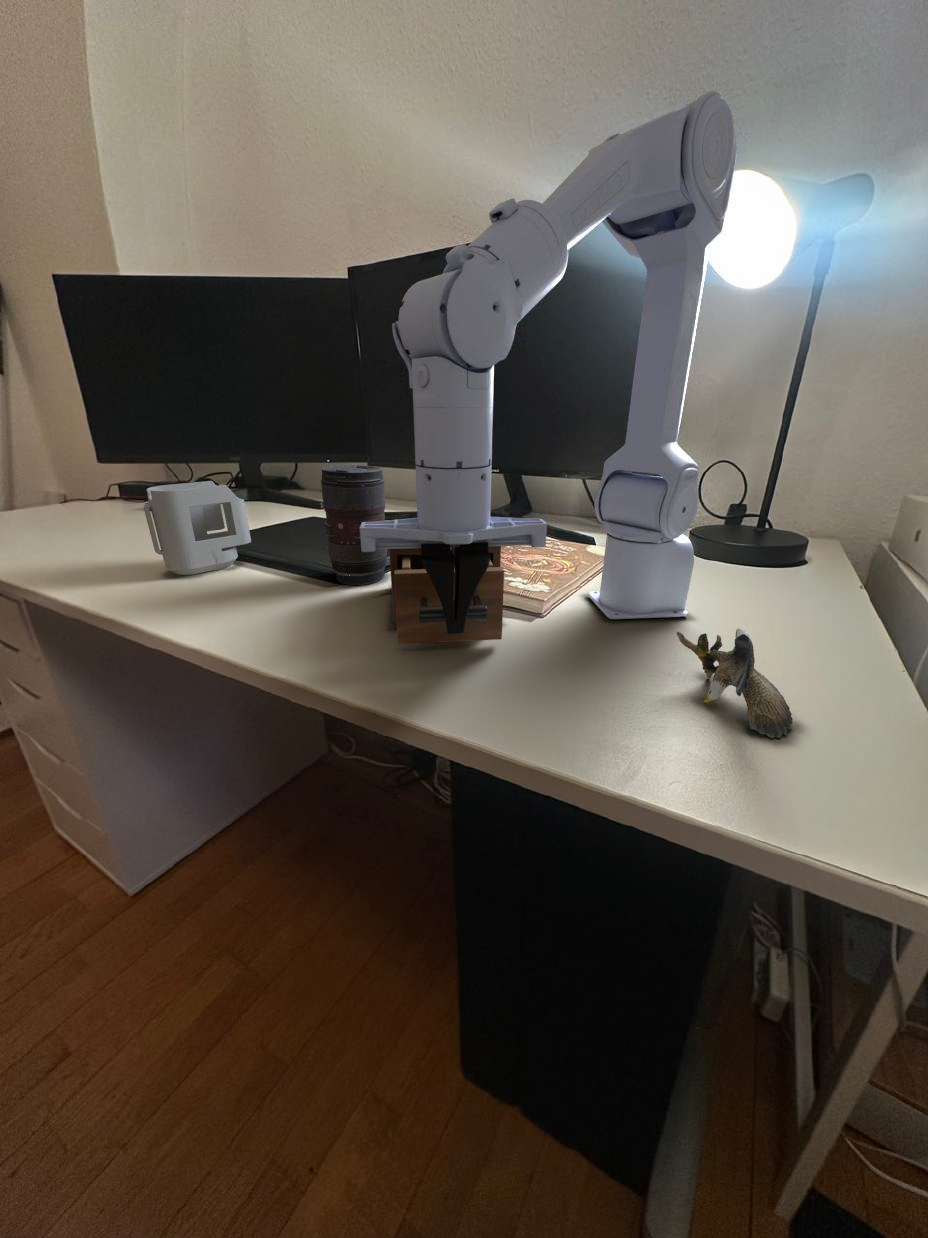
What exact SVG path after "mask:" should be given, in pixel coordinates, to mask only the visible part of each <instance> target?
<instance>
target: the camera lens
mask: <svg viewBox="0 0 928 1238" xmlns="http://www.w3.org/2000/svg"><path fill="white" fill-rule="evenodd" d="M320 485H321V496H322V504H323V511H324V512H325V520H324V532H325V533H326V534H325V535H327V546H328V556H329V559H330V563H331V568H332V570H333V569H334V570H335V571H337V572H339V573H342V574H346V575H350V576H344V577H340V576H338V575H337V574H336V573H335V576H336V580H337V582H338V583H340V584H343V585H349V586H362V585H363V586H364V585H369V584H375V583H377V582H379V581H382V580H383V579H384V578H385V575H386V571H385V569H386V566H387V565H388V549H376V551H374V552H362V551H361V539H360V526H361V523H362V522H377V521H386V515H385V511H386V510H385V509H386V489H385V479H384V475H383V469H382V468H381V467H378V466H373V465H372V466H371V465H362V464H361V465H356V464H340V465H339V464H338V465H328V466H323V467H322V468H321V479H320ZM334 570H333V571H334ZM335 571H334V572H335Z"/></svg>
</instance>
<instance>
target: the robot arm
mask: <svg viewBox="0 0 928 1238" xmlns="http://www.w3.org/2000/svg"><path fill="white" fill-rule="evenodd" d="M737 155H738V138H737V134H736V128H735V121H734V115H733V112H732V108H731V107H730V104H729V103H728V101H727V100H726V98H725V97H724V95H722V93H721V92H719V91H717V90H710V91H709V90H708V91H706V93H704V94H701V95H700V96H698V98H697V99H695V100H693V101H691V102H689V103H687V104H685V105H683V106H680V107H677V108H676V109H674V110H672V111H669V112H667V113H665V114H663V115H660V116H658V117H656V118H654V119H652V120H650V121H647V122H644V123H642V124H641V125H638V126H636V127H634V128H631V129H630V130H627V131H625V132H623V133H621V134H620V133H615V134H613V135H610V136H608V137H606V138H605V139H604V140H603V141H602V143H600V144H598V145H595V146H594V147H592V148H590V149H589V151H588V153H587V156H586V157H585V158H584V159H583V160H581V162H580V163H579V164H578V165H577V166H576V167H575V168H574V170H573V171H572V172H570V174H569V175H568V176H567V177H566V178H565V179H563V181H562V182H561V183H560V184H559V185H558V186H557V188H555V190H553V192H552V193H551V194H550V195H549V196H548V197H547V198H546V199H545V200H543V202H540V201H537V200H533V199H521V200H519V201H517V202H516V199H515V198H514V197H512V198H509V199H506V200H505V201H502V202H500V203H498V204H497V205H496V206H495V207H493V208H492V209H491V210H490V211H489V213H488V217H489V219H490V223H491V224H490V225H489V226H488V227H487V228H486V229H485V230H483V231H482V232H481V233H480V234H479V235H478V236H477V237H476V238H475V239H473V240H472V242H470V243H469V244H468V245H466V244H465V243H462V244H459V245H456V246H454V247H452V249H450V251H449V252H447V253H446V255H445V261H446V263H447V264H446V265H445V267H444V269H443V271H442V273H441V274H438V275H435V276H432V277H429V278H425V279H422V280H419V281H417V282H416V283H414V284H412V285H411V286H410V287H409V288H408V289H407V291H406V292H405V294H404V296H403V298H402V300H401V302H402V305H401V307H399V311H398V320H396V321H395V322H393V323H392V324H391V328H392V336H393V340H394V344H395V346H396V348H397V351H398V353H399V355H400V357H401V358H402V360H403V361H404V364H405V365H406V367H407V370H408V381H409V389H411V390H412V405H413V432H414V433H413V434H414V435H413V437H414V460H415V461H414V462H415V483H416V484H415V486H416V487H415V488H416V489H415V490H416V513H417V514H416V516H417V517H411V518H400V519H399V518H398V519H399V520H394V519H390V520H385V521H377V522H362V523H361V526H360V539H361V551H362V552H374V551H376V549H387V550H389V549H406V548H421V556H422V563H423V565H424V567H425V570H426V572H427V573H428V575H429V577H430V579H431V581H432V583H433V585H434V587H435V589H436V592H437V594H438V596H439V599H440V602H441V605H442V608H443V611H444V615H445V619H446V628H447V633H448V634H458V633H464V626H465V621H466V617H467V613H468V609H469V606H470V603H471V601H472V598H473V595H474V593H475V591H476V589H477V586H478V584H479V582H480V581H481V579H482V577H483V575H484V573H485V572H486V570H487V568H488V566H489V563H490V553H489V552H488V546H501V547H520V546H526V547H527V546H530V547H532V548H535V549H536V548H538V549H540V548H546V547H547V533H548V532H547V531H548V524H547V522H546V521H545V520H543V519H542V518H523V517H505V516H503V517H502V516H491V511H492V509H491V508H492V507H491V505H492V467H493V466H492V465H493V464H492V463H493V462H492V460H493V420H494V383H495V382H494V379H495V365H496V364H497V363H499V362H500V361H503V360H505V359H507V356H508V354H509V353H510V351H511V349H512V345H513V342H514V338H515V334H516V328H517V326H518V325H517V324H518V323H519V322H521V320H522V319H524V317H525V316H526V315H527V314H528V313H529V312H531V310H532V309H533V308H535V306H536V305H537V304H539V302H540V301H541V300H542V299H544V297H545V296H546V295H547V294H549V292H551V290H553V289H554V287H556V285H557V284H559V282H560V281H561V280H562V279H563V277H564V275H565V272H566V269H567V266H568V262H569V261H568V259H569V250H570V249H571V248H572V247H573V246H574V245H576V244H577V243H578V242H579V241H580V240H581V239H583V238H584V237H585V236H586V235H587V234H588V233H589V232H591V231H592V230H593V229H594V228H596V226H598V225H599V224H600V223H602V224H603V226H604V227H605V228H606V229H607V230H608V232H609V233H610V234H611V235H612V236H613V237H614V239H615V240H616V241H617V242H618V243H619V244H620V246H621V247H622V248H623V249H624V250H625V251H626V253H627V254H628V255H629V256H632V257H635V258H638V259H640V260H641V261H642V263H643V265H644V267H645V270H646V278H645V285H644V286H645V287H644V293H643V301H642V308H641V317H640V325H639V333H638V340H637V341H638V342H637V348H636V357H635V363H634V372H633V379H632V380H633V381H632V386H631V387H632V388H631V394H630V395H631V396H630V404H629V411H628V419H627V426H626V435H625V443H624V444H623V446H622V447H621V448H619V449H617V451H616V452H614V453H613V454H612V455H611V456H609V457H608V458H607V459H606V460H605V461H604V462H603V469H602V475H601V477H600V482H599V483H598V486H597V488H596V491H595V493H594V501H593V504H594V513H595V516H596V518H597V521H598V522H600V523H601V524H602V525H601V532H604V533H606V539H605V547H604V555H603V556H604V557H603V564H602V570H601V571H602V572H601V580H600V587H599V588H600V589H599V590H597V591H593V590H592V591H588V592H587V596H588V598H589V599H590V600H591V601H592V602H593V603H594V605H596V606H597V607H598V609H600V611H601V613H603V614H604V615H605V616H606V618H608V619H609V620H628V619H629V620H630V619H654V618H656V619H657V618H681V617H683V618H684V617H688V614H689V613H688V611H687V610H686V605H687V601H688V595H689V590H690V586H691V581H692V575H693V571H694V564H695V552H694V551H695V550H694V546H693V544H692V541H691V540H690V538H689V537H687V536H686V535H685V534H684V533H685V532H687V531H688V529H690V527H691V526H692V524H693V522H694V520H695V518H696V515H697V511H698V507H699V500H700V499H699V491H698V490H699V489H698V483H699V482H698V481H699V470H700V466H699V465H698V464H697V462H696V461H694V460H693V459H692V458H691V456H689V455H688V454H687V453H686V452H685V451H684V450H683V449H682V448H681V447H680V446H679V444H678V439H679V432H680V427H681V426H680V425H681V421H682V414H683V409H684V403H685V397H686V392H687V386H688V385H687V384H688V379H689V372H690V367H691V361H692V354H693V349H694V343H695V337H696V330H697V325H698V318H699V313H700V307H701V300H702V295H703V289H704V283H705V277H706V272H707V265H708V260H709V253H710V248H711V247H710V246H711V243H712V242H713V241H714V240H716V238H718V236H719V235H721V233H722V232H723V231H724V227H725V220H726V213H727V211H728V207H729V202H730V195H731V191H732V184H733V180H734V179H733V178H734V172H735V166H736V160H737ZM633 472H634V473H633ZM642 473H643V474H642ZM650 474H651V475H650ZM652 474H653V475H652ZM451 547H454V558H455V565H454V561H453V552H452V549H451ZM454 566H455V597H454Z"/></svg>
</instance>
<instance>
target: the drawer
mask: <svg viewBox="0 0 928 1238" xmlns="http://www.w3.org/2000/svg"><path fill="white" fill-rule="evenodd" d="M453 561H454V565H455V558H454V554H453ZM423 567H424V565H423V563H422V556H421V555H403V559H402V570H394V586H395V603H396V620H397V628H396V637H397V644H399V645H400V644H401V645H402V644H424V643H447V642H451V643H453V642H473V641H497V640H500V641H501V640H502V639H503V616H504V615H503V614H504V590H505V589H504V587H505V569H504V567H502V566H500V567H493V564H492V562H491V560H490V563H489V566H488V568H487V570H486V572H485V573H484V575H483V577H482V579H481V581H480V582H479V584H478V586H477V589H476V591H475V593H474V595H473V598H472V601H471V603H470V606H469V609H468V613H467V617H466V621H465V626H464V633H458V634H448V633H447V628H446V619H445V615H444V611H443V608H442V605H441V602H440V599H439V596H438V594H437V592H436V589H435V587H434V585H433V583H432V581H431V579H430V577H429V575H428V573H427V572H426V570H425V569H423ZM454 567H455V566H454ZM454 597H455V568H454Z"/></svg>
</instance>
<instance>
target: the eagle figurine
mask: <svg viewBox="0 0 928 1238" xmlns="http://www.w3.org/2000/svg"><path fill="white" fill-rule="evenodd" d="M676 635H677V638H678V640H679V642H680V643H681V644H682V645H683V646H684V647H686V648H687V649H689V650H691V651H692V652H693V653H694V654H695V655H696V656H697V658H698V659H699V661H700V662H701V665H702V670H703V671H704V672H703V673H704V674H705V675H706V677H707V678H708V679H711V678H712V681H711V684H710V686H709V689H708V693H707V696H706V698H705V699H703V703H705V704H709V703H710V702H711V701H713V700H717V699H719V698H720V697H721V696H722V694H723V693H724V691H725V689H727V688H728V687H729V686H732V687H735V693H736V695H737V696H738V697H742V695H743V698H744V700H745V703H746V706H747V717H748V718H747V719H748V724H749V728H750V729H751V730H755V731H757V733H758V734H759V735H766V736H767V737H769V738H770V739H774V738H777V739H780V738H782V736H783V735H787V734H788V730H791V728H792V727H791V725H793V717H792V716H793V714H792V712H791V710H790V706H789V705H788V704H787V701H786V699H785V697H784V696H783V695H782V693H781V692H780V691H779V690H778V688H777V687H776V686H775V685H774V684H773V683H772V682H771V681H770V680H769V679H768V678H766V677H765V675H764V674H762V673H761V672H759V671H758V670H757V669H756V668H755V664H756V663H755V652H754V651H755V649H754V645H753V641H752V638H750V635H749V634H748V633H747V631H745V630H744V629H742V628H740V627H738V628H736V630H735V638H734V646H733V649H732V650H729V651H724V650H720V649H721V648H722V647H723V642H722V637H721V635H719V634H717V635H716V640H715V643H714V644H712V646H711V647H710V645H709V639H708V635H707V633H701V634H700V635H699V636H698V638H697V643H696V644H695V643H693V642H692V641H690V640H689V639H688V638H687V637H685V635H684V634H683V633H682V632H681V631H676ZM709 647H710V648H709ZM716 662H717V663H718V665H716V666H715V664H714V663H716Z"/></svg>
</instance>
